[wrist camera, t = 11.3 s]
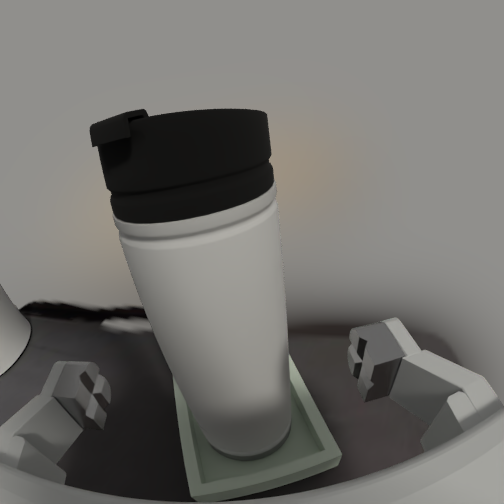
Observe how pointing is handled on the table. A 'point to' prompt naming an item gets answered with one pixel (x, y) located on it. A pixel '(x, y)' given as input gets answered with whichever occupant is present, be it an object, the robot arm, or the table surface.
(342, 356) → the table surface
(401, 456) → the table surface
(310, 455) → the tray
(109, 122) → the travel mug
